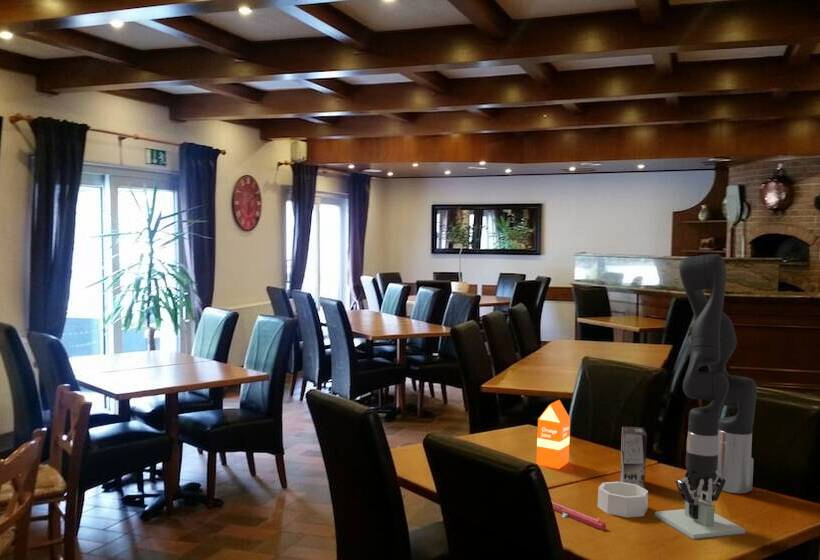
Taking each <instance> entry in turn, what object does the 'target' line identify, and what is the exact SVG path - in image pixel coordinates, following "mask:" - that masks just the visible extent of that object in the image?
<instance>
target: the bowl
mask: <svg viewBox="0 0 820 560" xmlns="http://www.w3.org/2000/svg"><path fill="white" fill-rule="evenodd" d="M597 488H598V489H597V508H598V509H600V510H602V511H603V512H604V513H606V514H607V515H612V516H618V517H623V518H635V517H644V516H645V515H646V513H647V512H648V501H649V500H648V499H649V491H648V490H647V489H646V488H645V487H644V488H642V487H640V486H639V485H636V484H630V483H625V482H621V481H608V482H607V481H605V482H602V483H601V484H600V485H599V486H598V487H597Z"/></svg>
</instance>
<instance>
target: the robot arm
mask: <svg viewBox="0 0 820 560" xmlns="http://www.w3.org/2000/svg"><path fill="white" fill-rule="evenodd" d="M678 265H679V267H678V269H679V276H680V280H681V283H682V286H683V289H684V291H685V295H686V296H687V298H688V301H689V304H690V306H691V310H692V312H693V313H692V314H693V316H694V320H695V321H694V323H693V325H692V327H691V332H690V355H689V356H690V357H689V362H688V366H687V369H686V372H685V375H684V378H683V382H682V391H683V393H684V394H685V396H686V397H687V398H689V399H693V400H704V401H705V400H707V401H710V403H709V404H707V405H706V406H701V407H695V408H694V407H693V408H692V409H690V411H689V413H688V430H687V438H686V447H685V448H686V449H685V451H686V452H685V467H686V472H685V473H684V477H683V478H681V479H679V478H677V479H676V480H675V483H676V487H677V489H678V492H679V494H680V497H681V500H682V501H684V502H685V501H686V502H688V503H689V515H690V517H691V518H693V519H698V505H697V504H698V501H699V498H700V499H702V500H704V501H706V502H708V503H710V504H712V503H713V502H714V501H715V502H717V501H718V500H719V498H720V496H721V493H722V491H723V492H726V493H731V494H747V493H749V492H751V491H753V479H754V476H753V475H754V458H753V457H752V442H753V426H754V421H755V414H756V413H755V411H756V404H757V396H758V393H757V392H758V390H757V389H758V388H757V387H758V386H757V384H756V381H755V380H754V379H753V378H750V377H746V376H742V375H741V376H740V375H739V376H738V375H733V374H730V373H729V372H728V371H727V363H728V361H729V359H730V358H731V356H732V355H733V353H734V351H735V350H736V347H737V343H738V342H737V334H736V331H735V328H734V324H733V321H732V320H731V318H730V317H729V316H728V315H727V314H726V313H725V312H724V311H723V310H724V309H723V308H724V302H725V301H724V300H725V293H726V285H727V268H726V263H725V260H724V258H723V257H722V255H721V254H719V253H712V254H711V253H710V254H703V255H702V254H701V255H695V256H687V257H684V258H682V259H681V260H680V262H679V264H678ZM704 290H710V294H709V298H708V297H707V296H706V294H705V293H704ZM705 366H708V371H703V370H699V369H700V368H702V367H705ZM723 406H725V407H730V408H735V409H737V412H736V414H734V415H731V416H727V417H726V416H725V417H722V418H720V416H721V411H722V408H723ZM693 497H694V499H693Z"/></svg>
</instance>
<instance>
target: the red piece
mask: <svg viewBox="0 0 820 560" xmlns="http://www.w3.org/2000/svg"><path fill="white" fill-rule="evenodd" d="M551 502H552V503H553V506H554V509H555V510H554V511H556V512H558V513H560V514H562V516H561V518H562V519H565V518H567V517H569V518H571V519H574V520H576V521H578V522H581V523H584V524H586V525H588V526H591V527H593V528H595V529H598V530H600V531H603V530H606V522H605V521H603V520H600V518H599V517H593V516H590V515H589V514H586V513H583V512H581V511H578V510H575V509H573V508H570V507H567V506H565V505H561V504H558V503H555V502H553V501H551Z"/></svg>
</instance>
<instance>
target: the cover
mask: <svg viewBox="0 0 820 560" xmlns="http://www.w3.org/2000/svg"><path fill="white" fill-rule="evenodd" d="M693 499H694V497H693ZM697 505H698V519H693V518H691V517H690V515H689V503H688V502H686V501H684V508H683V509H671V510H670V509H669V510H662V511H659V510H658V511H655V512H654V515H655V516H657V517H658V518H660V519H661V520H663V521H665V522H666V523H668V524H670V525H671V526H673V527H675V528H676V529H678V530H680V531H681V532H683V533H685V534H686V535H688V536H690V537H691V538H693V539H695V538H704V537H713V536H723V535H732V534H742V533H746V529H745V528H743V527H741V526H740V525H738V524H736V523H734V522H732V521H730V520H728V519H727V518H724V517H723V516H721V515H719V514H717V513H716V512H715V509H716V505H714V504H712V503H711V504H710V503H708V502H706V501H704V500H702V499H701V497H699V501H698V504H697ZM658 518H657V519H658ZM661 520H660V521H661ZM663 521H662V522H663ZM666 523H665V524H666ZM671 526H670V527H671ZM676 529H675V530H676ZM681 532H680V533H681ZM686 535H685V536H686ZM691 538H690V539H691Z"/></svg>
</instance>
